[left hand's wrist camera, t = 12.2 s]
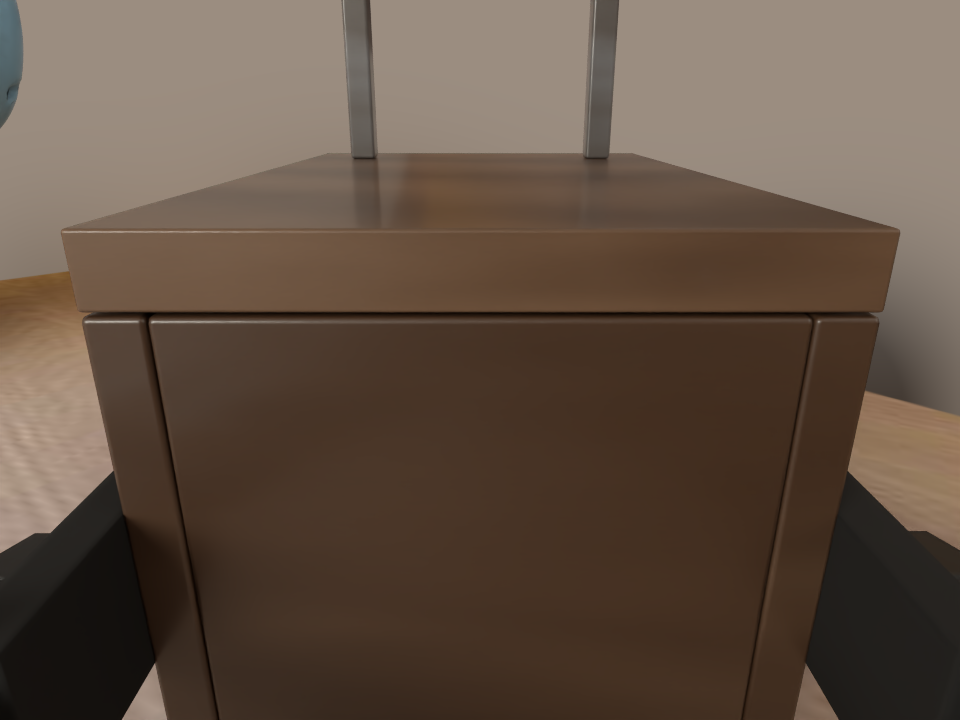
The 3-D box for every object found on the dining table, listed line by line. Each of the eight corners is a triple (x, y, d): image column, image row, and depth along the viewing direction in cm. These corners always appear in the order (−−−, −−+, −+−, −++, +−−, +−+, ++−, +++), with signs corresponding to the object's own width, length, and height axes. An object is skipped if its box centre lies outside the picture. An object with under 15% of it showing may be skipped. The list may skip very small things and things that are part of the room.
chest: (347, 464, 26) (326, 188, 22) (612, 465, 26) (633, 188, 22) (196, 869, 12) (77, 317, 8) (763, 869, 12) (883, 317, 8)
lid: (329, 186, 23) (306, -121, 20) (631, 185, 23) (654, -121, 20) (76, 313, 8) (-148, -723, 5) (884, 313, 8) (1109, -723, 5)
